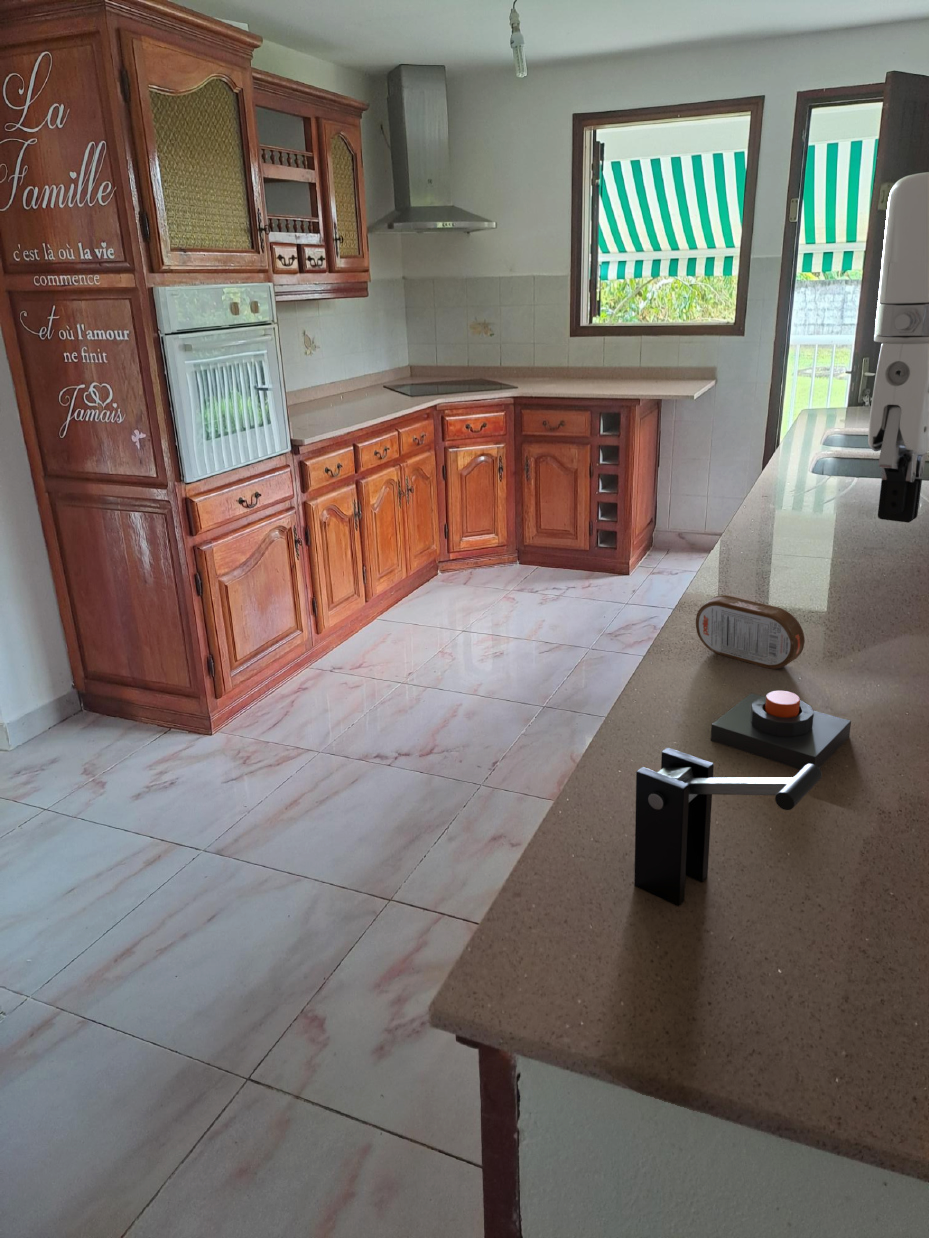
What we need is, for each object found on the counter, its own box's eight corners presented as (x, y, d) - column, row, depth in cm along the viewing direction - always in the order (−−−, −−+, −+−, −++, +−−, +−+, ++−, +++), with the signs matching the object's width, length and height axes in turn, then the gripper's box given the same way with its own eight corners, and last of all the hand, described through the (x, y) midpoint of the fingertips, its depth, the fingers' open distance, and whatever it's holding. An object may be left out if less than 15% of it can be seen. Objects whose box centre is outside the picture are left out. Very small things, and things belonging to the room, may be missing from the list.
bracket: (752, 892, 77) (762, 765, 72) (702, 949, 71) (709, 815, 66) (643, 845, 84) (646, 726, 79) (589, 893, 78) (588, 768, 73)
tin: (803, 669, 117) (808, 611, 114) (792, 678, 115) (797, 618, 112) (702, 642, 127) (705, 588, 124) (691, 649, 125) (693, 594, 122)
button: (804, 709, 100) (805, 695, 99) (790, 721, 97) (791, 707, 96) (773, 701, 102) (774, 687, 101) (759, 712, 99) (760, 698, 99)
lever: (825, 786, 67) (817, 757, 66) (798, 816, 63) (789, 786, 63) (679, 786, 76) (671, 760, 76) (648, 812, 73) (640, 785, 73)
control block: (849, 737, 100) (852, 706, 99) (813, 775, 94) (816, 742, 92) (750, 708, 108) (752, 679, 107) (710, 741, 101) (712, 710, 100)
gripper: (939, 330, 72) (912, 543, 79) (989, 316, 82) (961, 506, 89) (847, 330, 77) (828, 532, 84) (904, 317, 87) (884, 498, 94)
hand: (897, 518), depth 87 cm, fingers closed
